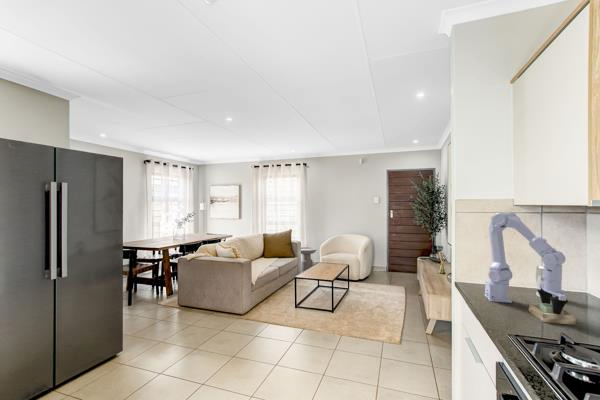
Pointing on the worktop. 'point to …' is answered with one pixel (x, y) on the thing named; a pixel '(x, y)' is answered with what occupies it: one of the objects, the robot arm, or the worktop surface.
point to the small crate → (547, 308)
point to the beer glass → (539, 277)
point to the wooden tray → (552, 316)
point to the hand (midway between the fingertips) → (551, 310)
